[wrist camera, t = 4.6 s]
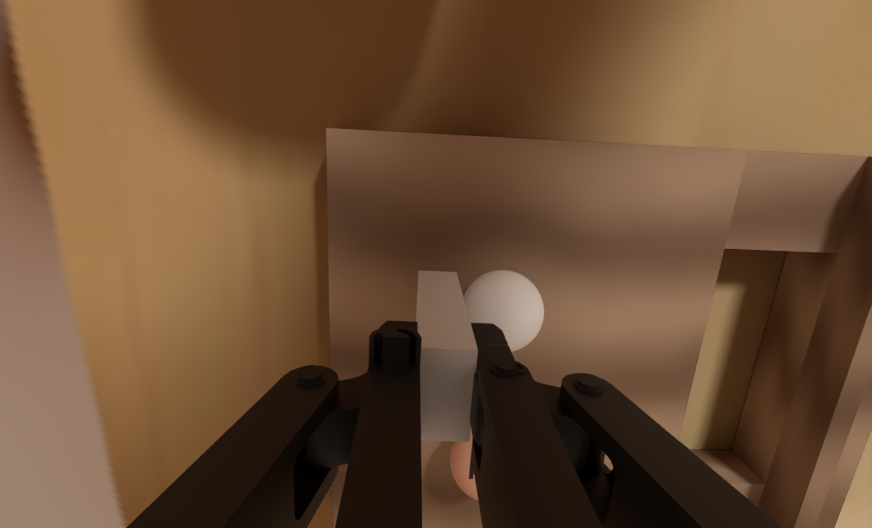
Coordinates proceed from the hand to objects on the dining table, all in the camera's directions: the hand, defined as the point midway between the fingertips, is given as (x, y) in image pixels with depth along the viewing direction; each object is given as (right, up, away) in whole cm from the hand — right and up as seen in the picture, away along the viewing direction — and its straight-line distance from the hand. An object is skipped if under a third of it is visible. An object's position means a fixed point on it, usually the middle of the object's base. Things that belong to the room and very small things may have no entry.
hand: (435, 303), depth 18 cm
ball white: (+3, 0, 0) cm, 3 cm away
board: (+8, -3, +5) cm, 10 cm away
